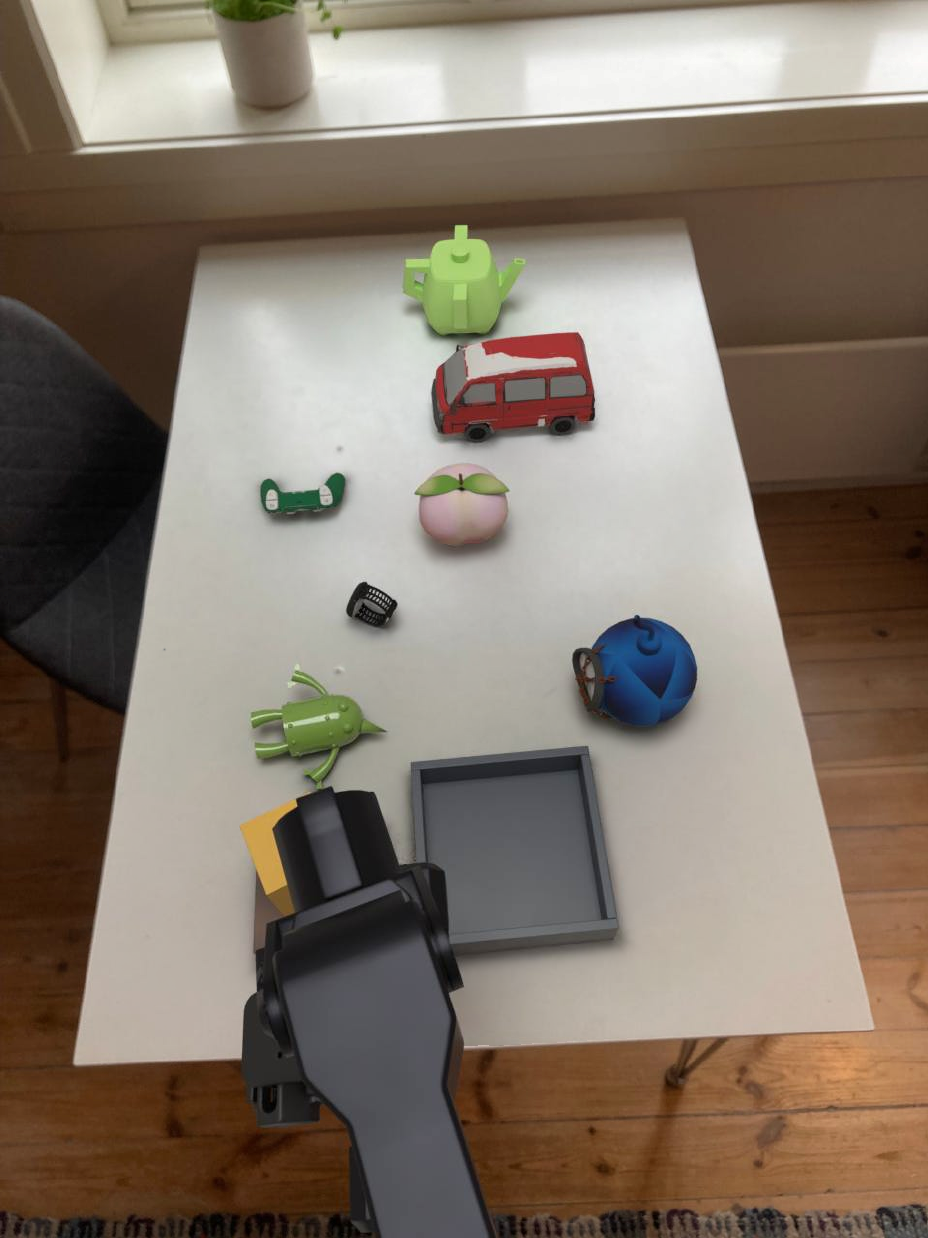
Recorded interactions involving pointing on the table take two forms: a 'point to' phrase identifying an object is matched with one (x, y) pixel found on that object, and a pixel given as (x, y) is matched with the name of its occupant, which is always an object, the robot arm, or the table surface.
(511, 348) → the toy car
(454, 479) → the decorative fruit
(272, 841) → the puzzle block
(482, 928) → the tray
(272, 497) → the gaming controller
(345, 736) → the character figure
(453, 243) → the teapot
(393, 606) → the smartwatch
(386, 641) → the table surface
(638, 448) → the table surface
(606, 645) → the bomb
